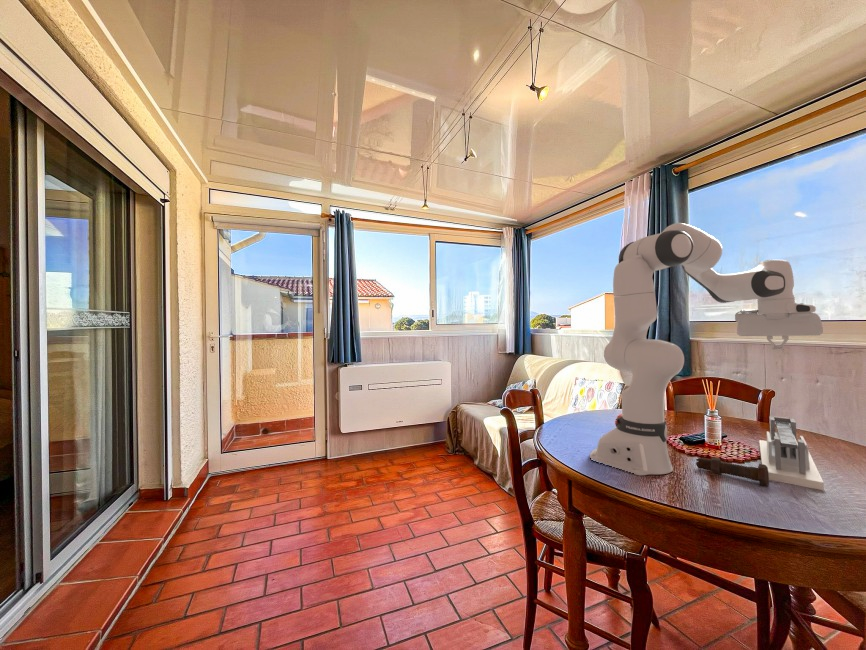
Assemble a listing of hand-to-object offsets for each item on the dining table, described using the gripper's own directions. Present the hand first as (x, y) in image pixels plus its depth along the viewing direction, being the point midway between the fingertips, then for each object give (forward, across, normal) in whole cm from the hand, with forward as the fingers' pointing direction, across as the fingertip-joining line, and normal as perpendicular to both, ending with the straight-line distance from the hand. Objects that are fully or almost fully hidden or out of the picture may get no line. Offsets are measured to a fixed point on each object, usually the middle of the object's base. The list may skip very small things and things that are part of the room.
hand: (777, 349), depth 114 cm
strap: (+25, 0, -17) cm, 30 cm away
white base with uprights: (+33, 0, -17) cm, 37 cm away
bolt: (+34, -12, -36) cm, 51 cm away
